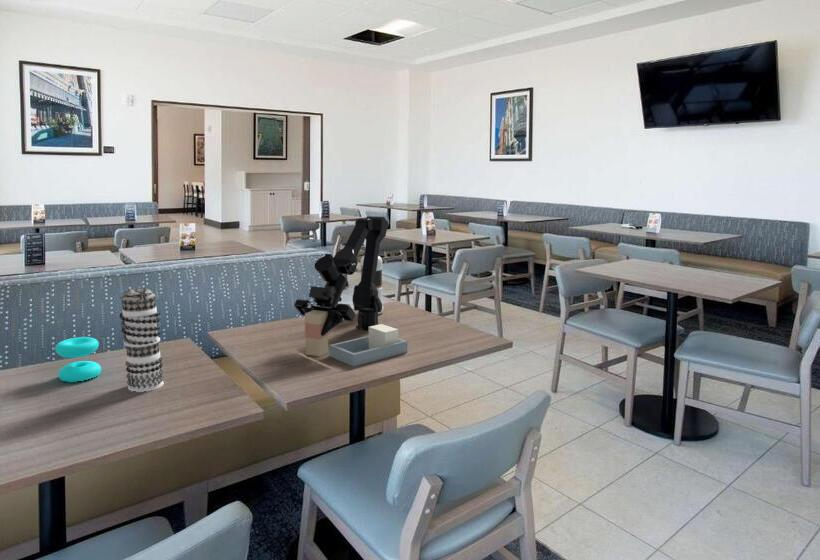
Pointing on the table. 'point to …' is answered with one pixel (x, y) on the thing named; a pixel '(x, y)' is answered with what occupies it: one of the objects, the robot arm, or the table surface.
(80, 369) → the donuts
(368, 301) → the robot arm
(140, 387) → the decorative candle
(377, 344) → the cream rectangular block
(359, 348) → the tote
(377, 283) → the vodka
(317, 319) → the oat carton
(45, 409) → the table surface
